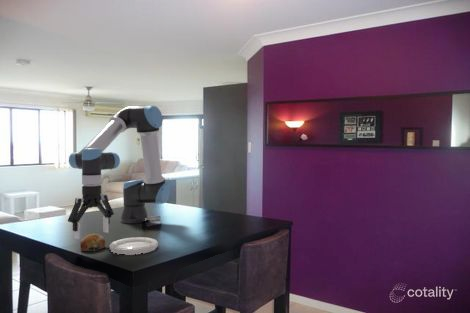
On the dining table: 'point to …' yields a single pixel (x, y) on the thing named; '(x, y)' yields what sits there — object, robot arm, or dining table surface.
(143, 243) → the dish
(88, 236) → the bread roll
